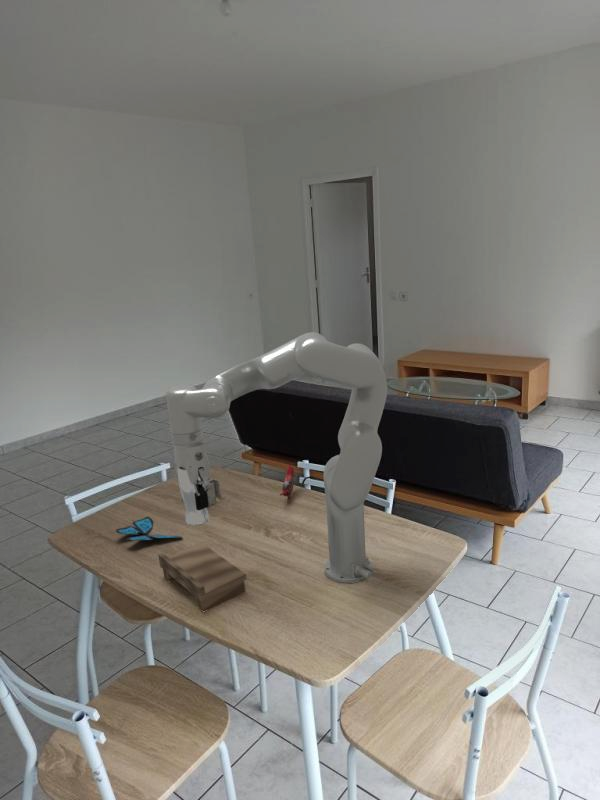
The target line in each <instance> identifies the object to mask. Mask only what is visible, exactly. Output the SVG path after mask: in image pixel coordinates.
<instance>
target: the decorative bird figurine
mask: <svg viewBox="0 0 600 800" xmlns="http://www.w3.org/2000/svg"><path fill="white" fill-rule="evenodd" d="M294 470H295V469H294V467H293V465H288V467H287V469H286V473H285V478H284V481H283V484H282V489H281V492H280V494H279V496H283V497H287V501H289V500H290V498H291V497H292V493H293V490H294V484H295V472H294Z"/></svg>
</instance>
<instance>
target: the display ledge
mask: <svg viewBox="0 0 600 800" xmlns="http://www.w3.org/2000/svg"><path fill="white" fill-rule="evenodd" d="M157 556H158V561H159V562H158V563H159V567H160V568H162V571H163V572H162V573H163V577H165V578H166V579H165V578H164V579H165V580H167V582H169V581H171V582H173V581H176V582H178V583H179V584H180V585H181V586H182V587H183V588H184V589H186V590H187V591H188V592H189V593H190V594H192V595H193V596H194V597H195V599H196V603H197V604H196V605H197V608H198V607H199V608H198V609H200V610H201V611H202V610H203V611H205V612H207V611H209V610H211V609H214V608H215V607H217V606H219V605H221V604H223V603H225V602H227V601H229V600H231V599H233V598H235V597H238V596H239V595H241V594H243V593H245V592H246V585H245V581H246V580H248V579H247V573H245V572H244V571H242V570H241V569H240V568H238V567H237V566H236V565H234V564H233V563H231V562H230V561H228V560H227V559H226V558H224V557H222V556H221V555H220V554H218V553H217V552H215V551H214V550H213V549H211V548H210V547H208V546H207V545H206V544H204V543H203V542H201V543H198V544H197V545H194V546H192V547H189V548H187V549H184V550H183V551H179V552H177V553H175V554H172V555H171V556H167V555H166V554H164V553H163V552H160V553H158V555H157ZM174 579H175V580H174ZM172 580H173V581H172ZM206 610H207V611H206ZM203 611H202V612H203Z"/></svg>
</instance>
